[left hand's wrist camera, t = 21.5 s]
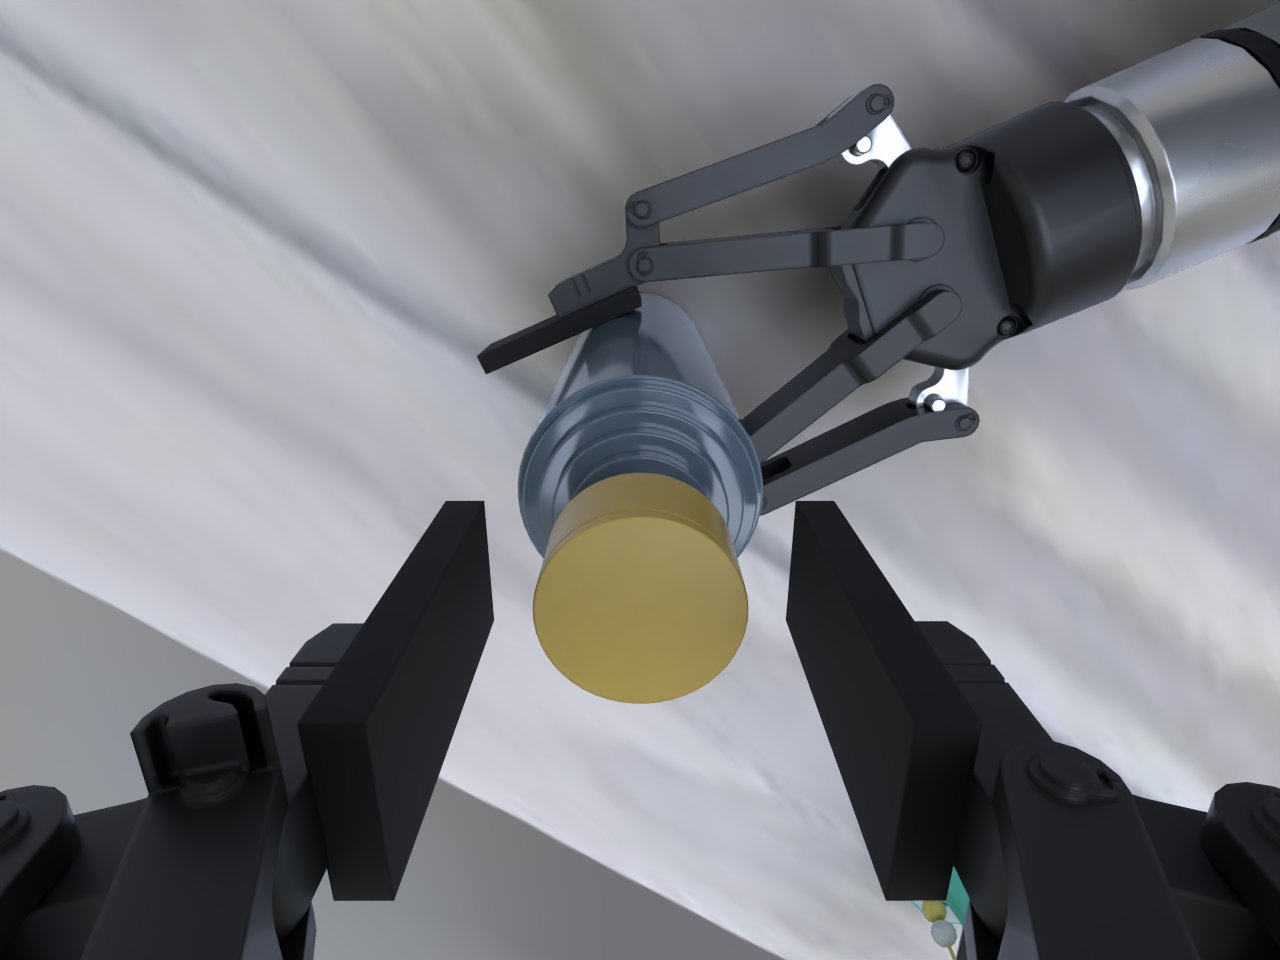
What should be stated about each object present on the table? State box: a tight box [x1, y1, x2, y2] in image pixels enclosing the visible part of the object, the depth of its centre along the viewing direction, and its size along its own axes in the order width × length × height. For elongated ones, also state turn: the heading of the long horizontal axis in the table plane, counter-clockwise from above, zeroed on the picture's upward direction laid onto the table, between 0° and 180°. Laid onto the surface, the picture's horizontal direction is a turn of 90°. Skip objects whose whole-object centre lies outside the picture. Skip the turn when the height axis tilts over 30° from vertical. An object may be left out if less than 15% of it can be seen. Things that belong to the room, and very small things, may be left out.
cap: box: [533, 473, 748, 704], centre depth 14 cm, size 4×4×2 cm
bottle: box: [518, 293, 763, 558], centre depth 24 cm, size 6×6×23 cm
